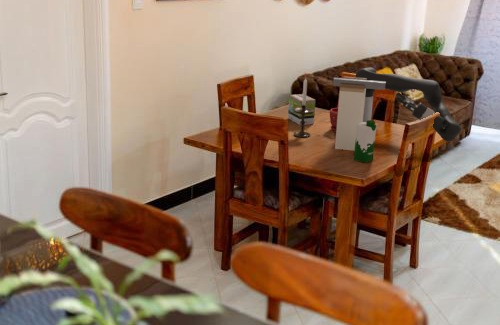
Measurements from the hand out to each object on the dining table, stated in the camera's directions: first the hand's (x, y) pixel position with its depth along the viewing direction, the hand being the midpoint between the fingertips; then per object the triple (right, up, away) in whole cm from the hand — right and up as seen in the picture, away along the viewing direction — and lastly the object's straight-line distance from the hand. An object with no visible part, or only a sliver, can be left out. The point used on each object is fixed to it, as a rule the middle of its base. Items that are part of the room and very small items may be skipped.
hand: (396, 95), depth 341 cm
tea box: (-44, -10, +59) cm, 74 cm away
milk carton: (-18, -32, -6) cm, 37 cm away
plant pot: (-23, -16, +43) cm, 51 cm away
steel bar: (-19, +5, +3) cm, 19 cm away
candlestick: (-45, -19, +31) cm, 58 cm away
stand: (-21, -23, +20) cm, 37 cm away
